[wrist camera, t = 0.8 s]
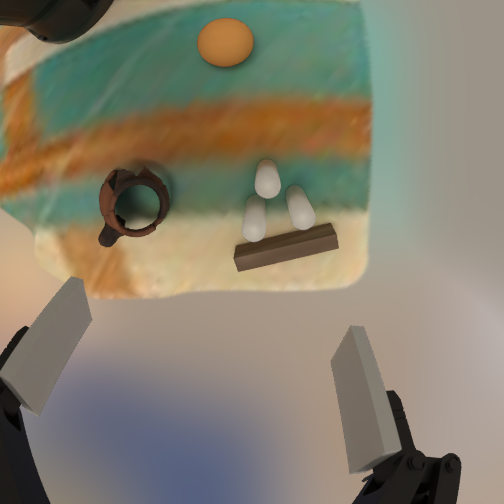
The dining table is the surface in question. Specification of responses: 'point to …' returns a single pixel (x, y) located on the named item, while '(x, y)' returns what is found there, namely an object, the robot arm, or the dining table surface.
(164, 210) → the pottery mug
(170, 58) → the dining table surface
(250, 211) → the pin
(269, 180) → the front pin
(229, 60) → the ball
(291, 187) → the pin
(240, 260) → the back wall
